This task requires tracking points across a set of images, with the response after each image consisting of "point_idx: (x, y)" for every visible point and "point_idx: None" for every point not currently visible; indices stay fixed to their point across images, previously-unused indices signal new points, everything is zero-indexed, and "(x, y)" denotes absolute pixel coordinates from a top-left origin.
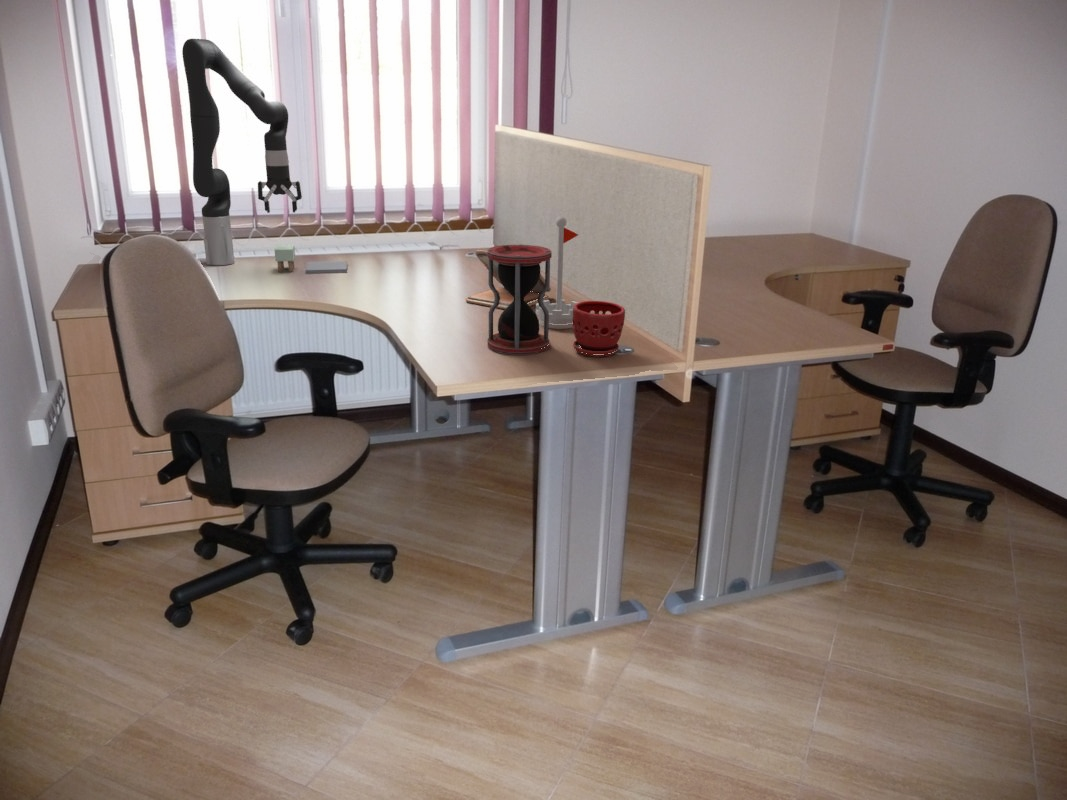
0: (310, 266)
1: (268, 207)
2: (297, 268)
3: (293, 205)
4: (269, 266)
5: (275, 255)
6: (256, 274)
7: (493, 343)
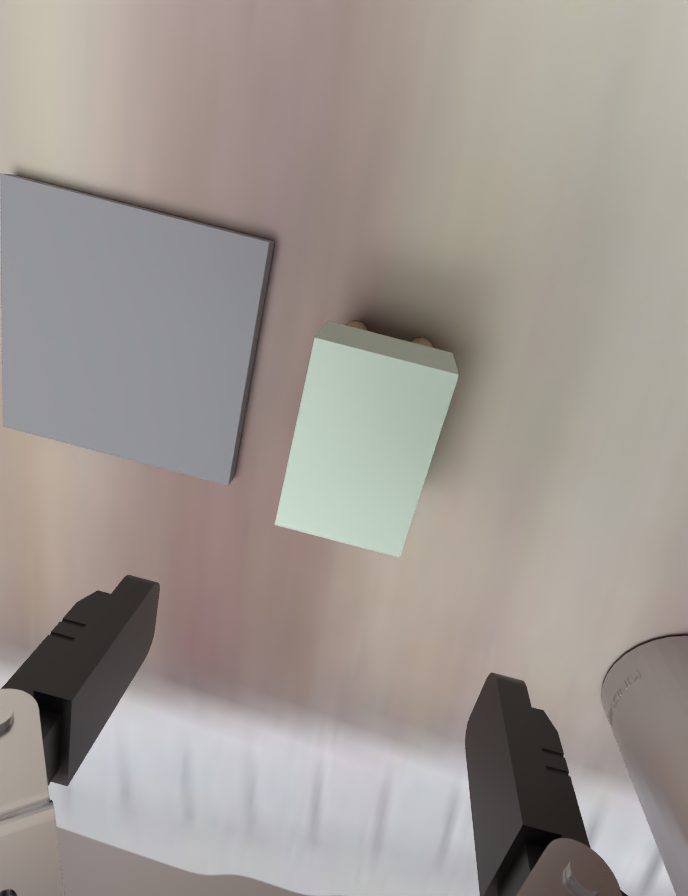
0: (224, 350)
1: (511, 731)
2: None
3: (88, 643)
4: (447, 526)
5: (451, 363)
6: (580, 333)
7: None
